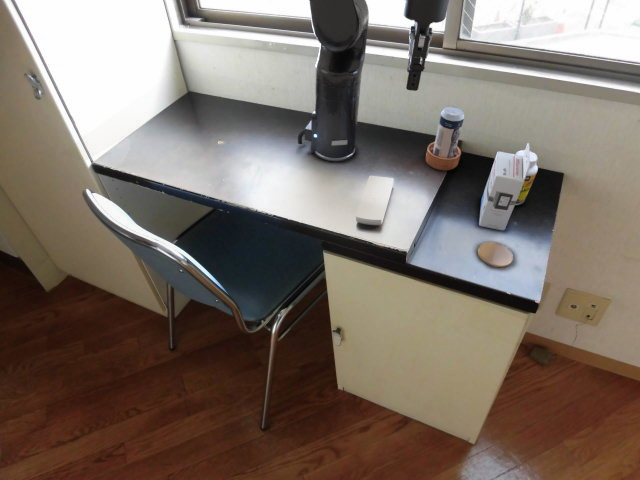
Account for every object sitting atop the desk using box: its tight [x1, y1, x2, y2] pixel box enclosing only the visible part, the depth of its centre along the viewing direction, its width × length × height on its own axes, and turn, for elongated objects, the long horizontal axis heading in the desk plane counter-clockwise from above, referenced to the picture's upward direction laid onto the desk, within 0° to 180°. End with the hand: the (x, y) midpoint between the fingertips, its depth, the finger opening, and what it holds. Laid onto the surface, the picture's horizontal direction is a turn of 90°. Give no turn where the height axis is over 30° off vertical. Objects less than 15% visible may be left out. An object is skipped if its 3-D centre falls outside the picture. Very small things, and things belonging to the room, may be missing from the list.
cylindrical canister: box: [432, 105, 465, 158], centre depth 101 cm, size 5×5×12 cm
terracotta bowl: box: [424, 141, 462, 171], centre depth 105 cm, size 7×7×3 cm
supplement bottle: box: [515, 149, 539, 206], centre depth 93 cm, size 6×6×10 cm
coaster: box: [477, 241, 514, 268], centre depth 84 cm, size 6×6×1 cm
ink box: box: [478, 142, 531, 231], centre depth 87 cm, size 9×5×15 cm, turn 163°
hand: (412, 80), depth 91 cm, fingers open, 8 cm apart
